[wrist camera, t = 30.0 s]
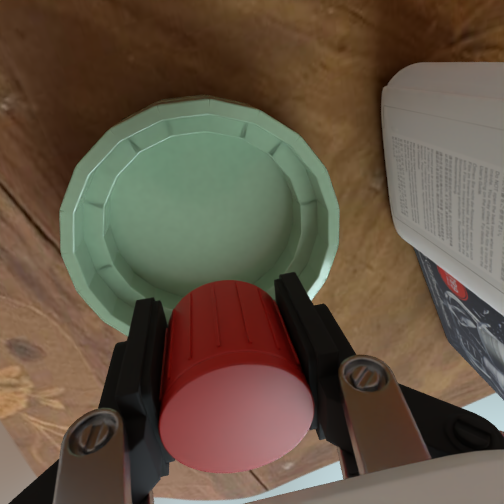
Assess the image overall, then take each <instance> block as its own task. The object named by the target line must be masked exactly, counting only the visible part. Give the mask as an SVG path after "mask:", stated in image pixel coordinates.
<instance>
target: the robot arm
mask: <svg viewBox="0 0 504 504" xmlns="http://www.w3.org/2000/svg"><path fill="white" fill-rule="evenodd" d="M274 287H275V299H276V303H277V305H278V308H279V310H280V313H281V315H282V318H283V321H284V323H285V326H286V328H287V331H288V333H289V336H290V338H291V341H292V343H293V346H294V348H295V351H296V353H297V356H298V358H299V361H300V364H301V367H302V370H303V372H304V375H305V377H306V380H307V382H308V385H309V387H310V390H311V392H312V395H313V398H314V404H315V405H314V416H313V421H312V423H311V426H310V428H309V429H310V430H313V429H316V432H317V434H318V437H319V440H322V439H326V440H327V441H328V442H330V443H332V444H334V445H336V446H337V451H338V456H339V460H340V465H341V470H342V474H343V479H344V480H340V481H335V482H331V483H328V484H323V485H319V486H314V487H311V488H306V489H302V490H298V491H294V492H290V493H286V494H282V495H277V496H274V497H269V498H265V499H261V500H257V501H253V502H249V503H245V504H504V432H502V431H499V430H498V429H497V428H496V427H495V426H494V425H493V424H492V423H490V422H489V421H488V420H486V419H485V418H483V417H481V416H479V415H477V414H475V413H473V412H470V411H467V410H465V409H462V408H460V407H457V406H455V405H452V404H450V403H447V402H445V401H442V400H439V399H437V398H434V397H432V396H429V395H427V394H424V393H422V392H419V391H417V390H414V389H411V388H409V387H406V386H404V385H401V384H399V383H398V382H397V380H396V378H395V376H394V374H393V372H392V370H391V369H390V367H389V366H388V365H387V364H386V363H384V362H383V361H382V360H380V359H378V358H376V357H372V356H369V355H356V353H355V352H354V350H353V348H352V347H351V345H350V343H349V342H348V340H347V339H346V337H345V335H344V334H343V332H342V330H341V329H340V327H339V325H338V324H337V322H336V320H335V319H334V317H333V316H332V314H331V312H330V311H329V309H328V307H327V306H326V305H325V304H319V305H313V303H312V302H311V300H310V298H309V296H308V294H307V292H306V291H305V289H304V287H303V285H302V283H301V282H300V280H299V278H298V276H297V274H296V273H295V272H291V273H285V274H280V275H279V279H275V280H274ZM166 328H168V324H167V320H166V317H165V313H164V310H163V306H162V303H161V301H160V300H158V301H155V299H154V297H151V298H145V299H140V300H136V303H135V308H134V312H133V317H132V321H131V325H130V330H129V334H128V339H127V341H125V342H120V343H117V344H116V345H115V348H114V351H113V355H112V359H111V362H110V366H109V370H108V374H107V377H106V381H105V385H104V389H103V392H102V396H101V400H100V404H99V407H98V409H95V410H92V411H90V412H88V413H86V414H84V415H83V416H81V417H80V418H79V419H77V420H76V421H75V422H74V423H73V424H72V425H71V426H70V427H69V429H68V430H67V432H66V434H65V435H64V438H63V441H62V444H61V451H60V458H59V459H58V460H57V461H56V462H55V463H54V464H53V465H52V466H50V467H49V468H48V469H47V470H46V471H45V472H44V473H42V474H41V475H40V476H39V477H38V478H37V479H36V480H35V481H34V482H32V483H31V484H30V485H29V486H28V487H27V488H26V489H24V490H23V491H22V492H21V493H20V494H19V495H18V496H17V497H16V498H14V499H13V500H12V501H11V502H10V503H9V504H154V498H153V491H152V489H153V487H154V486H155V485H156V484H157V483H158V481H159V480H160V477H163V476H167V475H169V462H172V461H175V459H174V458H173V457H172V456H171V455H170V454H169V453H168V452H167V450H166V449H165V448H164V446H163V444H162V442H161V439H160V435H159V428H158V424H159V414H160V404H161V402H160V401H159V396H160V386H161V375H162V364H163V354H164V343H165V333H166Z"/></svg>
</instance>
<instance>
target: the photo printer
mask: <svg viewBox="0 0 504 504" xmlns="http://www.w3.org/2000/svg"><path fill="white" fill-rule="evenodd" d="M381 120H382V132H383V144H384V155H385V164H386V173H387V182H388V191H389V200H390V206H391V212H392V218H393V222H394V226H395V228H396V231H397V233H398V234H399V235H400V236H401V237H402V238H403V239H404V240H405V241H407V242H408V243H409V244H411V245H412V246H413V247H415V248H416V249H417V250H418V251H420V252H421V253H422V254H424V255H425V256H426V257H428V258H429V259H430V260H432V261H433V262H434V263H435V264H437V265H438V266H439V267H441V268H442V269H443V270H444V271H446V272H447V273H448V274H450V275H451V276H452V277H454V278H455V279H456V280H458V281H459V282H460V283H461V284H463V285H464V286H465V287H467V288H468V289H469V290H470V291H472V292H473V293H474V294H476V295H477V296H478V297H479V298H481V299H482V300H483V301H485V302H486V303H487V304H489V305H490V306H491V307H492V308H494V309H495V310H496V311H498V312H499V313H500V314H502V315H503V316H504V62H421V63H415V64H411V65H409V66H407V67H405V68H403V69H402V70H400V71H399V72H398V73H397V74H396V75H395V76H394V77H393V78H392V79H391V80H390V81H389V83H388V85H387V86H385V87H384V88H383V91H382V98H381Z"/></svg>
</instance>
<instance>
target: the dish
mask: <svg viewBox="0 0 504 504" xmlns="http://www.w3.org/2000/svg"><path fill="white" fill-rule="evenodd" d="M59 219H60V252H61V256H62V258H63V260H64V263H65V265H66V268H67V270H68V272H69V275H70V277H71V280H72V282H73V284H74V287H75V289H76V291H77V293H78V294H79V295H80V296H81V297H82V298H83V299H84V300H85V302H86V303H87V304H88V305H89V306H90V307H91V308H92V309H93V311H94V312H95V313H96V314H97V315H98V316H99V317H100V318H101V320H103V321H104V322H105V323H107V324H108V325H110V326H112V327H113V328H115V329H116V330H118V331H120V332H121V333H123V334H125V335H126V336H128V334H129V330H130V325H131V321H132V317H133V312H134V308H135V303H136V300H140V299H145V298H151V297H154V299H155V301H158V300H160V301H161V303H162V306H163V310H164V313H165V317H166V320H167V324H168V323H169V319H170V316H171V314H172V311H173V309H174V308H175V307H176V305H177V304H178V303H179V302H180V301H181V299H182V298H184V297H185V296H186V295H187V294H188V293H190V292H191V291H193V290H194V289H196V288H198V287H200V286H202V285H205V284H207V283H211V282H215V281H221V280H237V281H243V282H247V283H250V284H253V285H255V286H257V287H259V288H261V289H262V290H264V291H265V292H266V293H268V294H269V295H270V296H271V297H272V299H273V300H275V301H276V299H275V287H274V280H275V279H279V275H280V274H285V273H291V272H295V273H296V274H297V276H298V278H299V280H300V282H301V283H302V285H303V287H304V289H305V291H306V292H307V294H308V296H309V298H310V300H311V301H312V299H313V298H314V297H315V295H316V294H317V292H318V291H319V290H320V288H321V287H322V285H323V284H324V283H325V281H326V279H327V277H328V275H329V272H330V269H331V266H332V263H333V260H334V257H335V255H336V252H337V249H338V245H339V204H338V201H337V198H336V195H335V192H334V189H333V186H332V183H331V180H330V177H329V174H328V171H327V169H326V167H325V166H324V165H323V163H322V162H321V161H320V160H319V158H318V157H317V156H316V154H315V153H314V152H313V151H312V149H311V148H310V147H309V145H308V144H307V143H306V142H305V140H304V139H303V138H302V137H301V136H300V135H299V134H298V133H296V132H295V131H293V130H292V129H290V128H288V127H287V126H285V125H284V124H282V123H280V122H279V121H277V120H276V119H274V118H272V117H271V116H269V115H268V114H266V113H264V112H263V111H261V110H259V109H257V108H255V107H253V106H251V105H249V104H246V103H243V102H238V101H234V100H229V99H225V98H220V97H216V96H211V95H207V94H205V95H204V94H202V95H194V96H186V97H177V98H169V99H162V100H159V101H157V102H155V103H153V104H151V105H149V106H147V107H145V108H143V109H141V110H139V111H137V112H135V113H133V114H132V115H130V116H128V117H126V118H124V119H122V120H121V121H119V122H118V123H117V124H115V125H114V126H113V127H111V128H110V129H109V130H107V132H106V133H105V134H104V135H103V136H102V137H101V138H100V139H99V140H98V141H97V143H96V144H95V145H94V146H93V147H92V148H91V149H90V150H89V151H88V153H87V154H86V155H85V156H84V157H83V158H82V159H81V160H80V161H79V162H78V164H77V165H76V167H75V168H74V171H73V174H72V176H71V179H70V182H69V185H68V187H67V190H66V193H65V195H64V198H63V201H62V203H61V206H60V211H59Z"/></svg>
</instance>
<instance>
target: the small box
mask: <svg viewBox="0 0 504 504" xmlns="http://www.w3.org/2000/svg"><path fill="white" fill-rule="evenodd" d="M414 250H415V253H416V255H417V258H418V261H419V264H420V266H421V269H422V271H423V274H424V277H425V280H426V282H427V285H428V288H429V291H430V293H431V296H432V299H433V302H434V304H435V307H436V310H437V312H438V315H439V318H440V320H441V323H442V326H443V328H444V331H445V334H446V337H447V339H448V342H449V343H450V344H451V345H452V346H453V347H454V348H455V349H456V350H457V352H458V353H459V354H460V355H461V356H462V357H463V358H464V359H465V360H466V361H467V362H468V363H469V364H470V365H471V366H472V367H473V368H474V369H475V370H476V371H477V373H478V374H479V375H480V376H481V377H482V378H483V379H484V380H485V381H486V382H487V383H488V384H489V385H490V386H491V387H492V388H493V389H494V390H495V391H496V393H498V395H499V396H500V397H501V398H502V399H503V400H504V316H503V315H502V314H500V313H499V312H498V311H496V310H495V309H494V308H492V307H491V306H490V305H489V304H487V303H486V302H485V301H483V300H482V299H481V298H479V297H478V296H477V295H476V294H474V293H473V292H472V291H470V290H469V289H468V288H467V287H465V286H464V285H463V284H461V283H460V282H459V281H458V280H456V279H455V278H454V277H452V276H451V275H450V274H448V273H447V272H446V271H444V270H443V269H442V268H441V267H439V266H438V265H437V264H435V263H434V262H433V261H432V260H430V259H429V258H428V257H426V256H425V255H424V254H422V253H421V252H420V251H418V250H417V249H416V248H415V247H414Z"/></svg>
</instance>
